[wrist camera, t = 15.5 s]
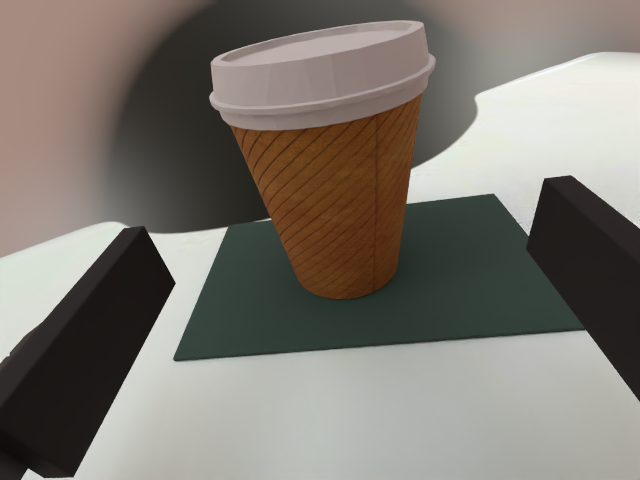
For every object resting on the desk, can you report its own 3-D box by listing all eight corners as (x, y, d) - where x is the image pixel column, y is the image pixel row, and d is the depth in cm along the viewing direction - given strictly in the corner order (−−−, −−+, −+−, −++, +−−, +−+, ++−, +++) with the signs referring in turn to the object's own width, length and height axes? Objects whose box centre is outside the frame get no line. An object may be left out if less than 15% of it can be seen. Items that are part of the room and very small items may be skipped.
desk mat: (493, 195, 25) (493, 193, 25) (599, 328, 15) (601, 325, 15) (229, 227, 27) (228, 225, 27) (174, 361, 17) (172, 358, 17)
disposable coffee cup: (277, 228, 25) (226, 45, 18) (407, 211, 24) (406, 13, 17) (260, 333, 17) (160, 85, 10) (448, 313, 17) (479, 30, 10)
